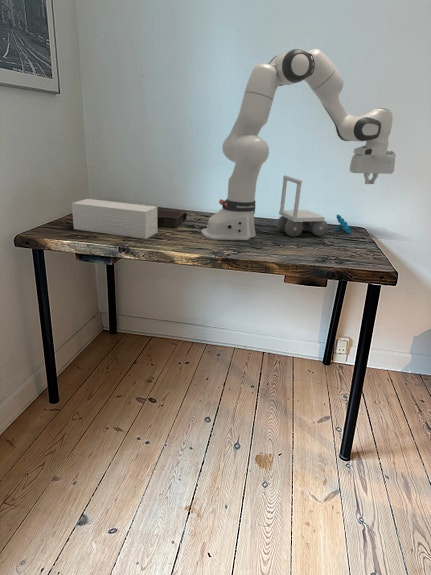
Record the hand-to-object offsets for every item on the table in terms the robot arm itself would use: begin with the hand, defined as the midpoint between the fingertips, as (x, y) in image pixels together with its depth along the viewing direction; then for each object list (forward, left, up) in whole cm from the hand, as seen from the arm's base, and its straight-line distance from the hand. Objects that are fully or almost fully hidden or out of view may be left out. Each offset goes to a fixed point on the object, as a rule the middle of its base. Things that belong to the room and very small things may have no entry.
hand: (369, 184), depth 178 cm
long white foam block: (-107, +13, -22) cm, 110 cm away
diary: (-89, +27, -22) cm, 95 cm away
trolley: (-31, 0, -21) cm, 37 cm away
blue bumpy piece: (-9, 0, -21) cm, 23 cm away
